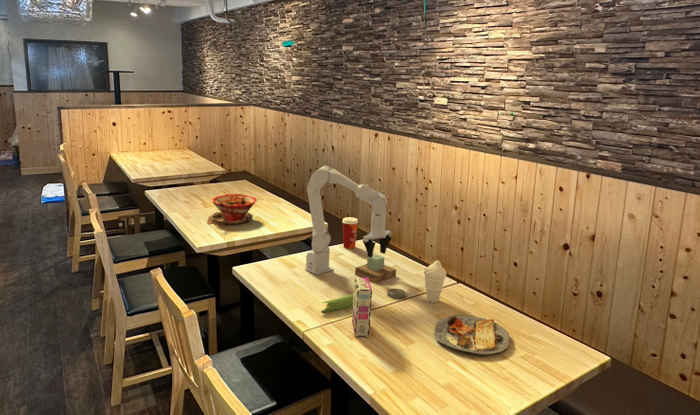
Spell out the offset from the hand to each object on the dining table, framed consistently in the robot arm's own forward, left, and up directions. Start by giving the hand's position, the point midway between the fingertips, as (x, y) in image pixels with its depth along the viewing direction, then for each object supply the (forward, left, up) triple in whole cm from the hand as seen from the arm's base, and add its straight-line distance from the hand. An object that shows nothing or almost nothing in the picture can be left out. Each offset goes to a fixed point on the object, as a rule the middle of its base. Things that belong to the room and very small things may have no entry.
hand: (376, 254), depth 221 cm
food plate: (-14, -57, -10) cm, 59 cm away
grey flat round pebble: (-8, -19, -9) cm, 23 cm away
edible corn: (-32, -15, -9) cm, 36 cm away
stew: (-5, +104, -9) cm, 104 cm away
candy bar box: (-38, -30, -9) cm, 49 cm away
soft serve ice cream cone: (-1, -31, -9) cm, 32 cm away
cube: (0, 0, -6) cm, 6 cm away
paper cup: (+16, +33, -9) cm, 38 cm away
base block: (0, 0, -9) cm, 9 cm away
